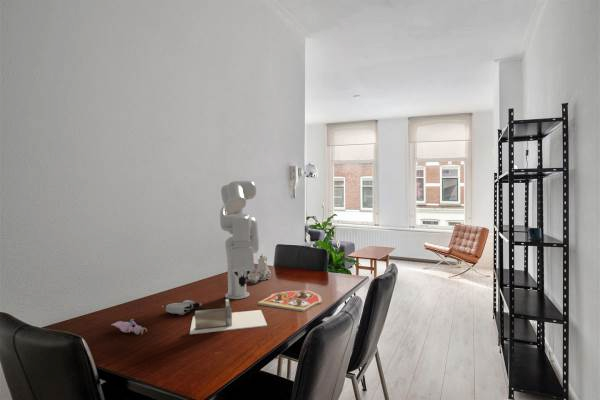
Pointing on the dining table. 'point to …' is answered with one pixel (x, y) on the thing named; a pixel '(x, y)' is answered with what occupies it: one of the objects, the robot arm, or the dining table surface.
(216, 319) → the fence base
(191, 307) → the robot toy
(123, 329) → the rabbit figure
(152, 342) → the dining table surface
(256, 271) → the chinaware
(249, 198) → the robot arm
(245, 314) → the card
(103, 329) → the dining table surface
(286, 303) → the knob puzzle
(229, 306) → the fence panel
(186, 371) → the dining table surface
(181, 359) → the dining table surface
